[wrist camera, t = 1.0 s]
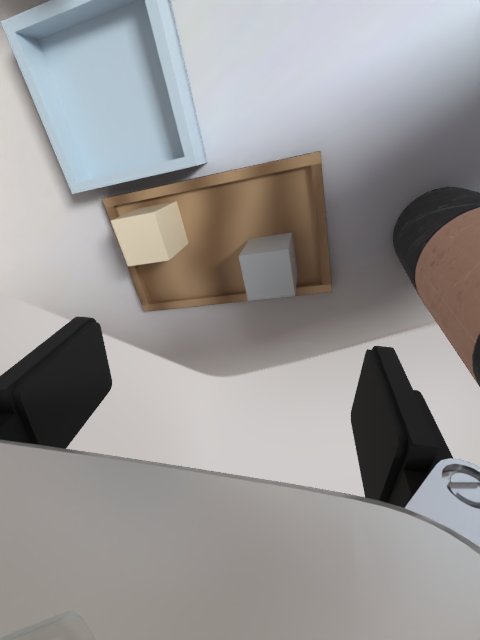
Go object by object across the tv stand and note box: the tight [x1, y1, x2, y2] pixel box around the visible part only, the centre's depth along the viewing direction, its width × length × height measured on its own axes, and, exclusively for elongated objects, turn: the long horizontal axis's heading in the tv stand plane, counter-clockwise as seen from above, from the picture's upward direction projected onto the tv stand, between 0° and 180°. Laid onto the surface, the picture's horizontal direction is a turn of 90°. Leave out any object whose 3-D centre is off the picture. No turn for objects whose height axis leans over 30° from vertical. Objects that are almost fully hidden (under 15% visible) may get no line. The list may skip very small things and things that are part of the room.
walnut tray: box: [102, 151, 332, 311], centre depth 31 cm, size 20×12×1 cm, turn 102°
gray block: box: [239, 232, 298, 301], centre depth 29 cm, size 4×4×5 cm
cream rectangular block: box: [111, 201, 188, 266], centre depth 29 cm, size 4×4×5 cm
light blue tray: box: [1, 0, 207, 194], centre depth 26 cm, size 12×12×3 cm
